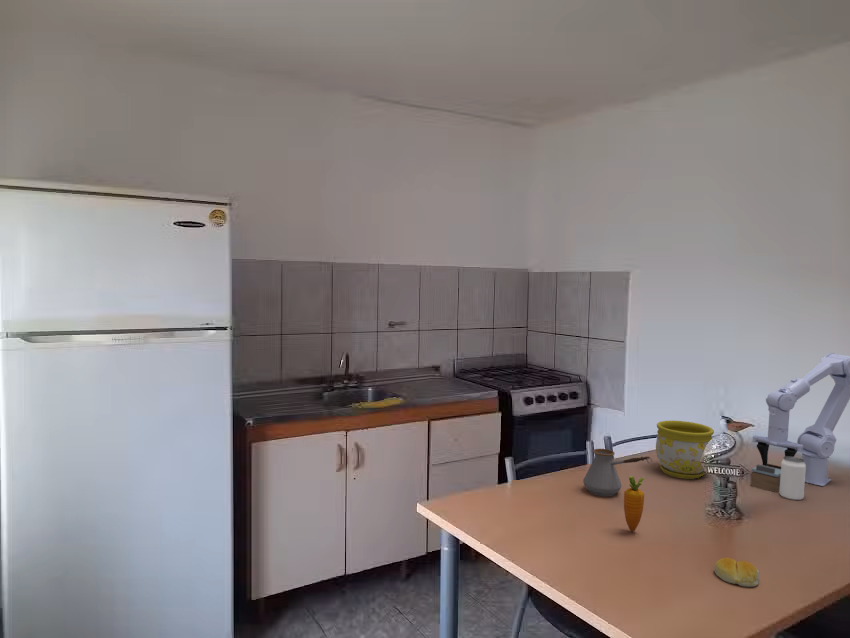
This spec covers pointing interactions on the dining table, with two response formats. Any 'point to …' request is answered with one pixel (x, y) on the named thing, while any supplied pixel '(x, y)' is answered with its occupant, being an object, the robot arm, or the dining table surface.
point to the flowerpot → (682, 447)
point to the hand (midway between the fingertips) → (775, 467)
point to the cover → (767, 470)
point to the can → (792, 478)
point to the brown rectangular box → (766, 480)
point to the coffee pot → (605, 473)
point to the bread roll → (737, 572)
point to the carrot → (633, 504)
